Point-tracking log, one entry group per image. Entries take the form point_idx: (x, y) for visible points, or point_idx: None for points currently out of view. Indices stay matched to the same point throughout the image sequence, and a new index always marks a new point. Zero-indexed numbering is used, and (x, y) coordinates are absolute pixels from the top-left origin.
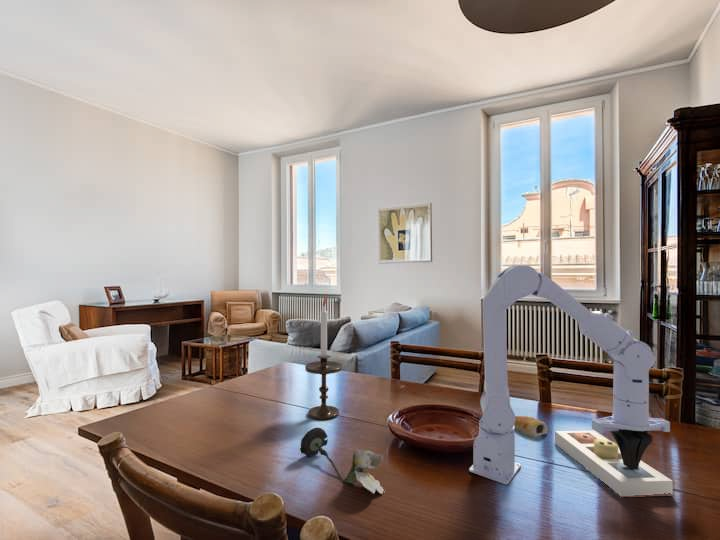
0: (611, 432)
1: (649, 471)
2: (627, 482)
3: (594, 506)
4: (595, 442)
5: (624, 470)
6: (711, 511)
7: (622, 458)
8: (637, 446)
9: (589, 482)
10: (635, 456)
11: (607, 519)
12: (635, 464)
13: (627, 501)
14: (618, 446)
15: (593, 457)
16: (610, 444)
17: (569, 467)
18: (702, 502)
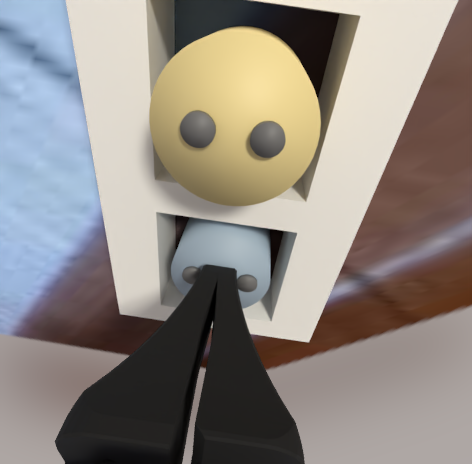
0: (94, 387)
1: (289, 295)
2: (144, 315)
3: (41, 283)
4: (156, 104)
5: (180, 282)
6: (334, 346)
7: (196, 280)
8: (187, 430)
9: (82, 192)
10: (200, 362)
11: (52, 317)
12: (211, 324)
13: None
14: (166, 320)
15: (117, 153)
16: (254, 156)
17: (41, 64)
18: (360, 326)
